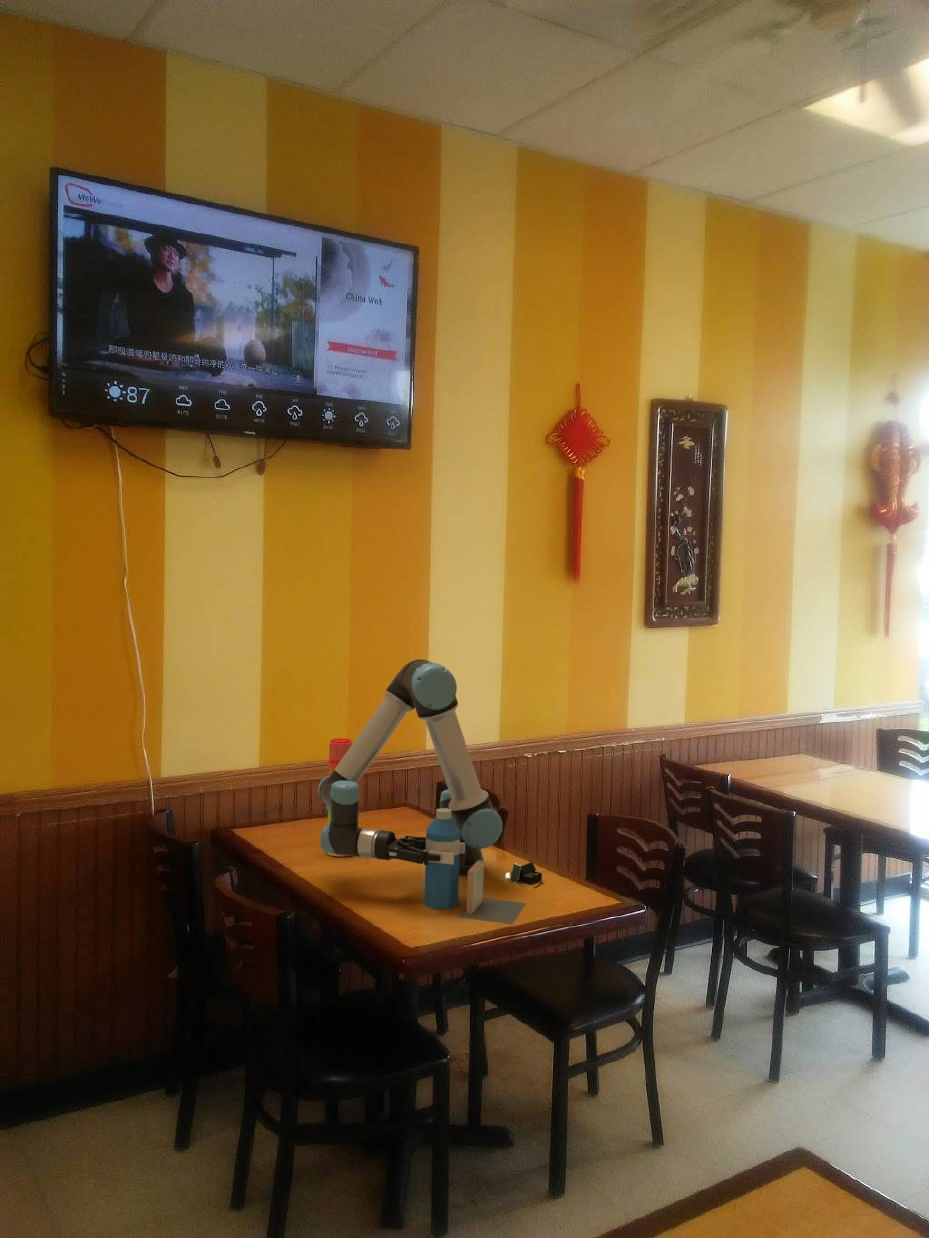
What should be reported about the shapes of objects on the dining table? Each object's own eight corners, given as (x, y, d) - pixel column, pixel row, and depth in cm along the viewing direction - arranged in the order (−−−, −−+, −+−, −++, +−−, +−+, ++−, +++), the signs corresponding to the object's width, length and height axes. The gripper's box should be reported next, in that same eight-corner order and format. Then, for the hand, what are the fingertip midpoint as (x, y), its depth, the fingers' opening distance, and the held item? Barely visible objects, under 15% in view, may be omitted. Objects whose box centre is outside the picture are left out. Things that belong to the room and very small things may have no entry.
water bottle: (418, 907, 264) (420, 812, 263) (430, 896, 273) (433, 804, 272) (452, 912, 262) (454, 816, 260) (463, 901, 270) (466, 807, 269)
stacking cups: (328, 858, 305) (331, 743, 303) (322, 848, 315) (325, 737, 312) (362, 856, 308) (365, 742, 306) (355, 846, 318) (358, 736, 316)
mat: (474, 899, 273) (475, 896, 273) (526, 905, 269) (526, 903, 269) (458, 919, 258) (458, 916, 258) (512, 926, 254) (512, 923, 254)
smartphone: (522, 870, 301) (522, 851, 301) (564, 881, 292) (565, 862, 291) (490, 881, 289) (491, 862, 289) (534, 894, 280) (534, 874, 280)
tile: (476, 901, 270) (478, 860, 269) (483, 901, 269) (484, 860, 269) (466, 913, 260) (467, 871, 260) (472, 914, 260) (474, 871, 259)
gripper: (391, 847, 282) (470, 855, 276) (362, 870, 261) (446, 880, 255) (392, 820, 282) (470, 828, 276) (362, 841, 261) (447, 850, 254)
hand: (459, 853), depth 265 cm, fingers closed on water bottle, 9 cm apart
